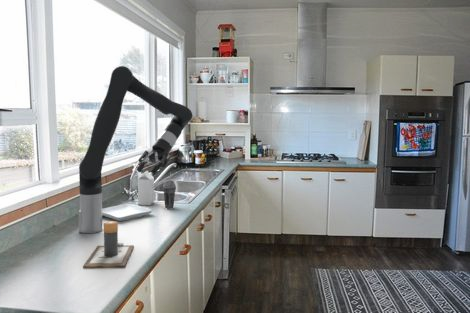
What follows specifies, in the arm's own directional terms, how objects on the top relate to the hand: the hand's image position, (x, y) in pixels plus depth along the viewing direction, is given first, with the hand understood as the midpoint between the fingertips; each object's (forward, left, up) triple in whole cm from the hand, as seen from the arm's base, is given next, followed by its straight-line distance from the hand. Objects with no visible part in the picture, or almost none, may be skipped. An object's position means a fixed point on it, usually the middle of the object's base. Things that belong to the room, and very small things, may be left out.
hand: (145, 172), depth 161 cm
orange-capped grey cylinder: (-10, -21, -28) cm, 36 cm away
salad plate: (-15, +36, -29) cm, 49 cm away
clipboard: (-10, -21, -29) cm, 37 cm away
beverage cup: (+7, +51, -29) cm, 59 cm away
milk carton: (-7, +61, -29) cm, 68 cm away
